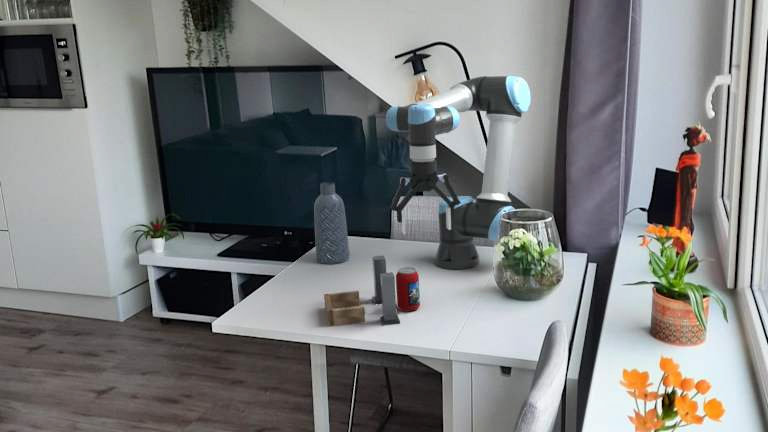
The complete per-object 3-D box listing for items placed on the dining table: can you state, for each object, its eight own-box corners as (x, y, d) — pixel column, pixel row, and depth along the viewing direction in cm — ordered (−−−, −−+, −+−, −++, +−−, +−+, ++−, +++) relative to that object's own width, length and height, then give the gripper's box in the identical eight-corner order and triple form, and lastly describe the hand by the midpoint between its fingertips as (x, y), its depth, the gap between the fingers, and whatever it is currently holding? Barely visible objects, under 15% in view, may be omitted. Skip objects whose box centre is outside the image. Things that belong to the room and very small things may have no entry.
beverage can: (418, 312, 223) (416, 273, 220) (395, 312, 224) (393, 273, 221) (421, 304, 229) (420, 266, 226) (399, 303, 231) (397, 266, 228)
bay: (359, 304, 232) (358, 290, 231) (365, 322, 218) (364, 307, 217) (325, 308, 231) (323, 294, 230) (328, 326, 217) (327, 311, 216)
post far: (388, 297, 237) (385, 254, 233) (390, 303, 232) (388, 259, 228) (372, 299, 236) (369, 256, 233) (374, 304, 231) (371, 260, 228)
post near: (397, 317, 221) (394, 271, 217) (400, 323, 216) (397, 276, 213) (380, 318, 220) (377, 273, 217) (382, 325, 215) (379, 278, 212)
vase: (355, 259, 275) (350, 183, 268) (325, 267, 269) (319, 189, 262) (340, 252, 285) (334, 178, 278) (310, 258, 280) (304, 183, 272)
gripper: (462, 153, 223) (464, 223, 228) (378, 160, 220) (382, 231, 225) (468, 158, 216) (470, 230, 221) (382, 165, 213) (386, 238, 218)
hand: (426, 230), depth 223 cm, fingers open, 13 cm apart
